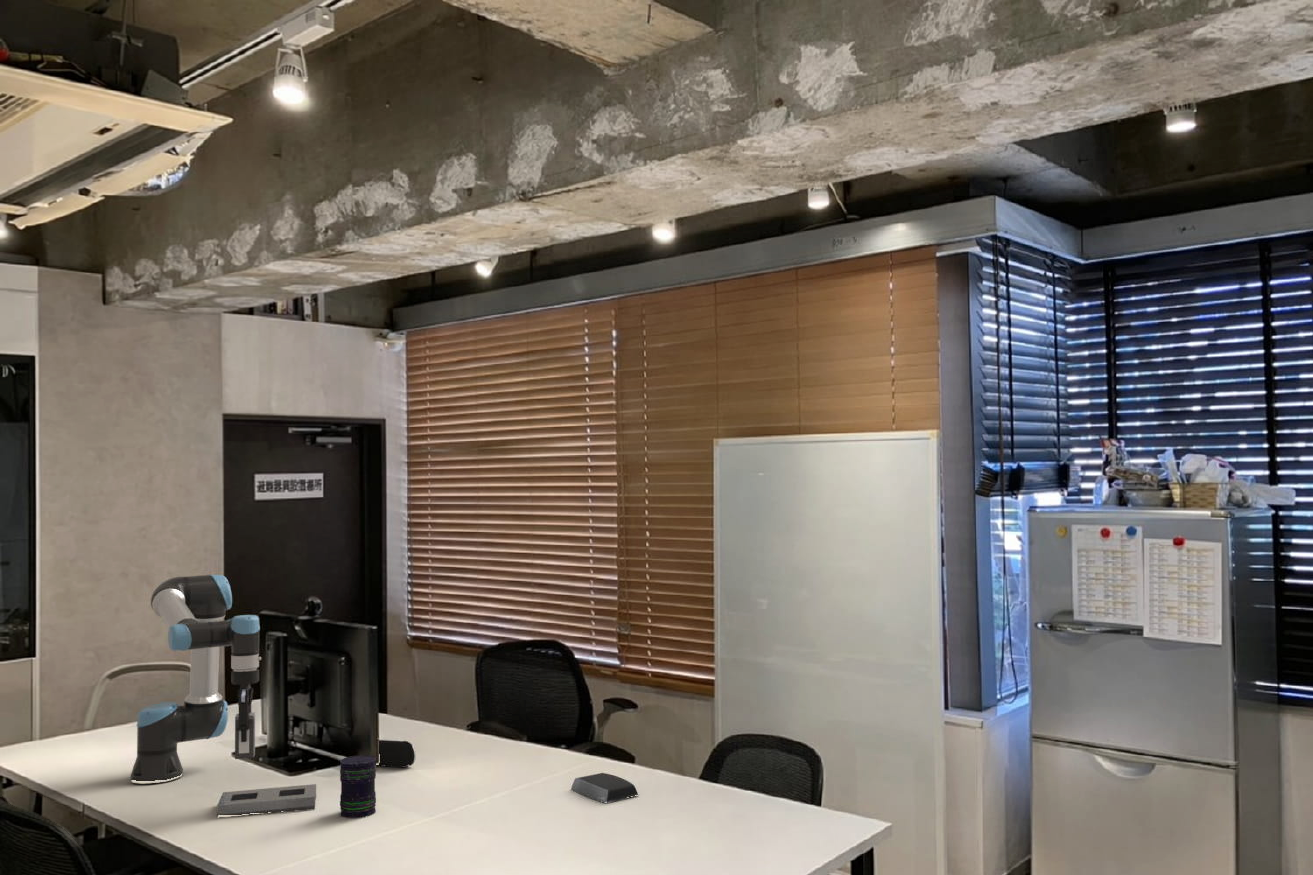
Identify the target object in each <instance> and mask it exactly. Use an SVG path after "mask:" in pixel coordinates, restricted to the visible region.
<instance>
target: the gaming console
mask: <svg viewBox="0 0 1313 875" xmlns="http://www.w3.org/2000/svg"><path fill="white" fill-rule="evenodd" d="M378 739H379V754H380V763H379V766H378V767H382V766H381V765H385V766H384V767H389V766H409V767H411V766H413V765H414V763H416V762H415V761H416V759H417V750H416V748H415V745H414V744H413V743H412V742H409V741H407V740H405V739H394V738H393V739H392V738H391V739H389V738H378Z"/></svg>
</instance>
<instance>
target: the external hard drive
mask: <svg viewBox="0 0 1313 875" xmlns="http://www.w3.org/2000/svg"><path fill="white" fill-rule="evenodd" d="M572 789H573V790H572ZM571 790H572V791H573V792H576V793H577V792H578V793H577V794H579V795H582V794H583V795H582V796H584V795H586V796H587V798H589V797H590V798H589V799H591V798H592V800H594V799H595V800H594V801H597V802H599V801H602V802H601V803H603V802H610V801H615V802H619V801H618V800H620V801H622V800H621V799H624V800H626V799H625V798H627V797H631V796H635V795H638V796H639V794H638V791H637V788H636V786H635V785H634V784H633V783H632V782H630V781H629V780H627V779H625V778H622V777H620V776H616V775H614V774H610V773H605V772H601V773H599V772H598V773H595V774H590V775H585V776H580V777H575V778H574V780H573V782H572V785H571ZM586 796H585V797H586Z"/></svg>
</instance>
